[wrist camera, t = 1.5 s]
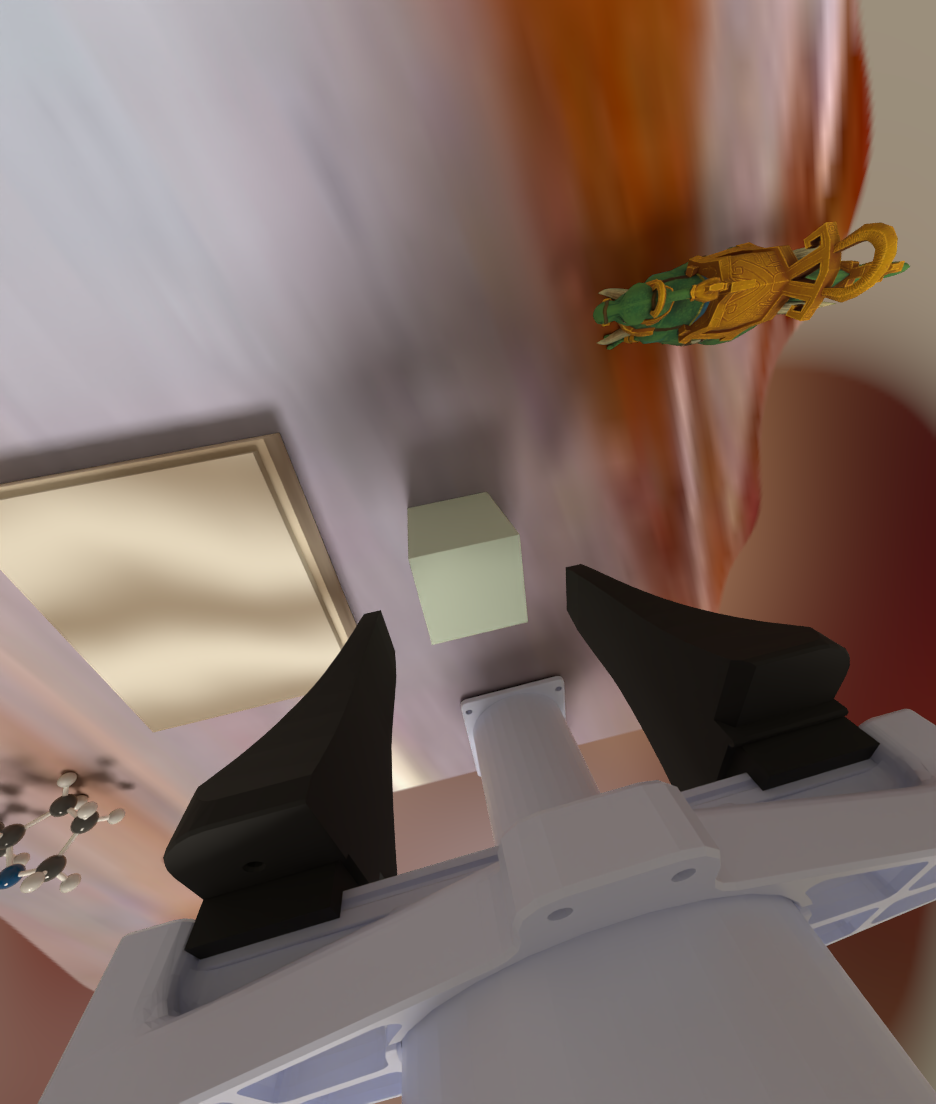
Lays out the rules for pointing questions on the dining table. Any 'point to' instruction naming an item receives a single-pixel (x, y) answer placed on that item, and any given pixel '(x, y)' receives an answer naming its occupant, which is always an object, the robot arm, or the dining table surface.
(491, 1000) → the robot arm
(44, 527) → the birch base
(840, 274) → the figurine
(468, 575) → the sage block
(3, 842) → the molecule model
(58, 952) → the dining table surface
